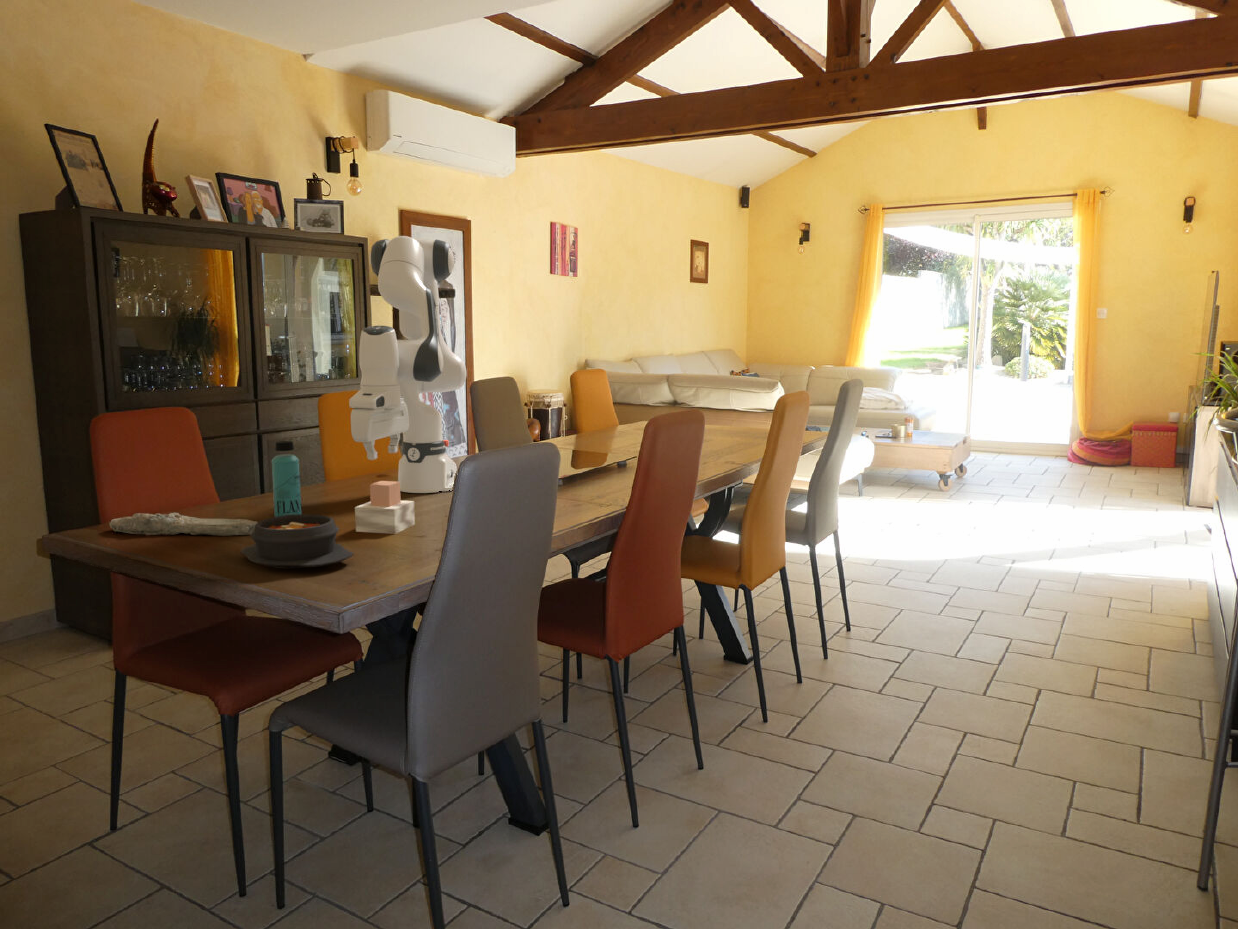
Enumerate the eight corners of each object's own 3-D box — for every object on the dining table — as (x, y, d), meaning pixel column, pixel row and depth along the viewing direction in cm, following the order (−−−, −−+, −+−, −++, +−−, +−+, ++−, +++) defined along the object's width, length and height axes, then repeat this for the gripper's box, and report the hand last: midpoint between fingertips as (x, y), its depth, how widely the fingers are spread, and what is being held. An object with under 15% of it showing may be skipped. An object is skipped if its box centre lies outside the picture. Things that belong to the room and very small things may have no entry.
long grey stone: (248, 545, 203) (268, 537, 213) (248, 522, 203) (268, 515, 212) (98, 534, 205) (124, 526, 215) (98, 511, 204) (124, 504, 214)
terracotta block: (382, 501, 216) (381, 480, 215) (400, 502, 214) (400, 481, 213) (370, 505, 211) (369, 484, 210) (389, 506, 210) (388, 485, 209)
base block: (377, 523, 219) (376, 499, 218) (414, 525, 217) (414, 501, 216) (356, 532, 210) (354, 507, 209) (395, 535, 207) (394, 509, 207)
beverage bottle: (273, 527, 214) (268, 443, 211) (275, 521, 220) (270, 439, 217) (302, 525, 216) (297, 442, 212) (303, 519, 222) (299, 439, 219)
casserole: (375, 560, 185) (373, 520, 184) (301, 582, 169) (299, 538, 168) (293, 544, 198) (291, 506, 196) (217, 563, 182) (215, 522, 181)
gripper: (391, 392, 219) (393, 448, 222) (344, 400, 200) (347, 462, 202) (414, 393, 218) (416, 449, 220) (370, 401, 198) (372, 463, 201)
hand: (382, 456), depth 211 cm, fingers open, 8 cm apart
